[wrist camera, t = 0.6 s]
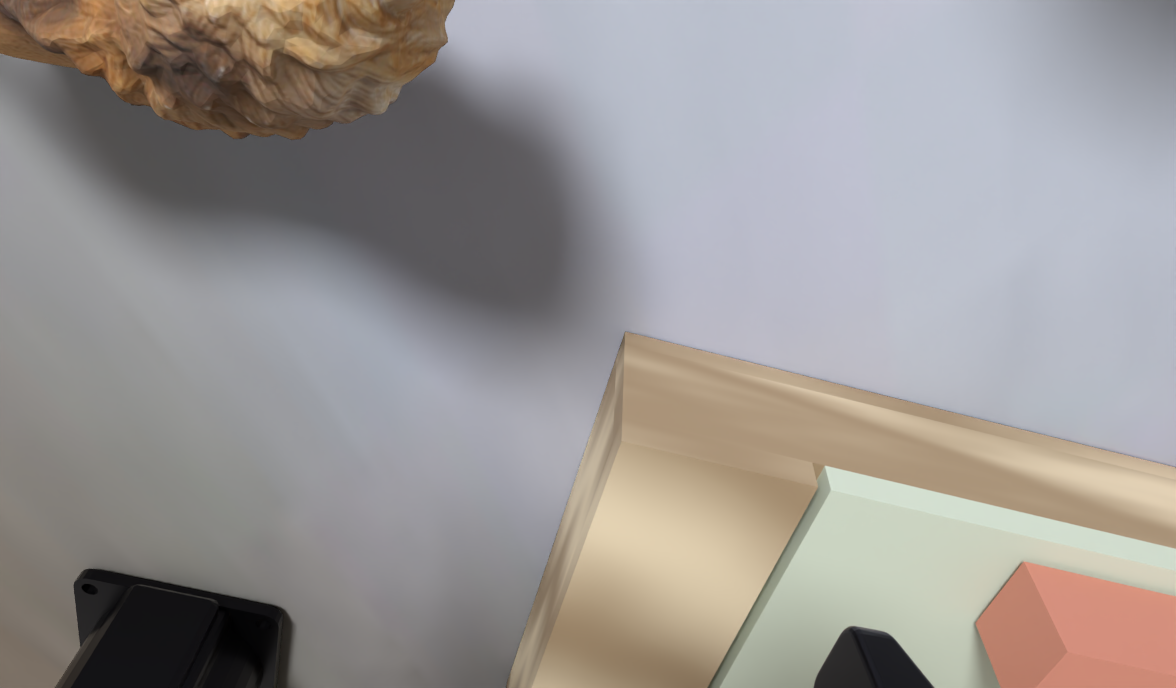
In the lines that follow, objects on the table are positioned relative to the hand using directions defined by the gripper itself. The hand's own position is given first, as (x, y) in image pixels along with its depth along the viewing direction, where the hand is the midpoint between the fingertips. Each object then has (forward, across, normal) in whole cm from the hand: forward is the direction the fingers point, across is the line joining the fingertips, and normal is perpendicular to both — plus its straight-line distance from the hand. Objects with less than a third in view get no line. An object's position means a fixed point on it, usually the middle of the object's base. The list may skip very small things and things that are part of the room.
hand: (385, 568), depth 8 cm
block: (+8, -16, +7) cm, 19 cm away
